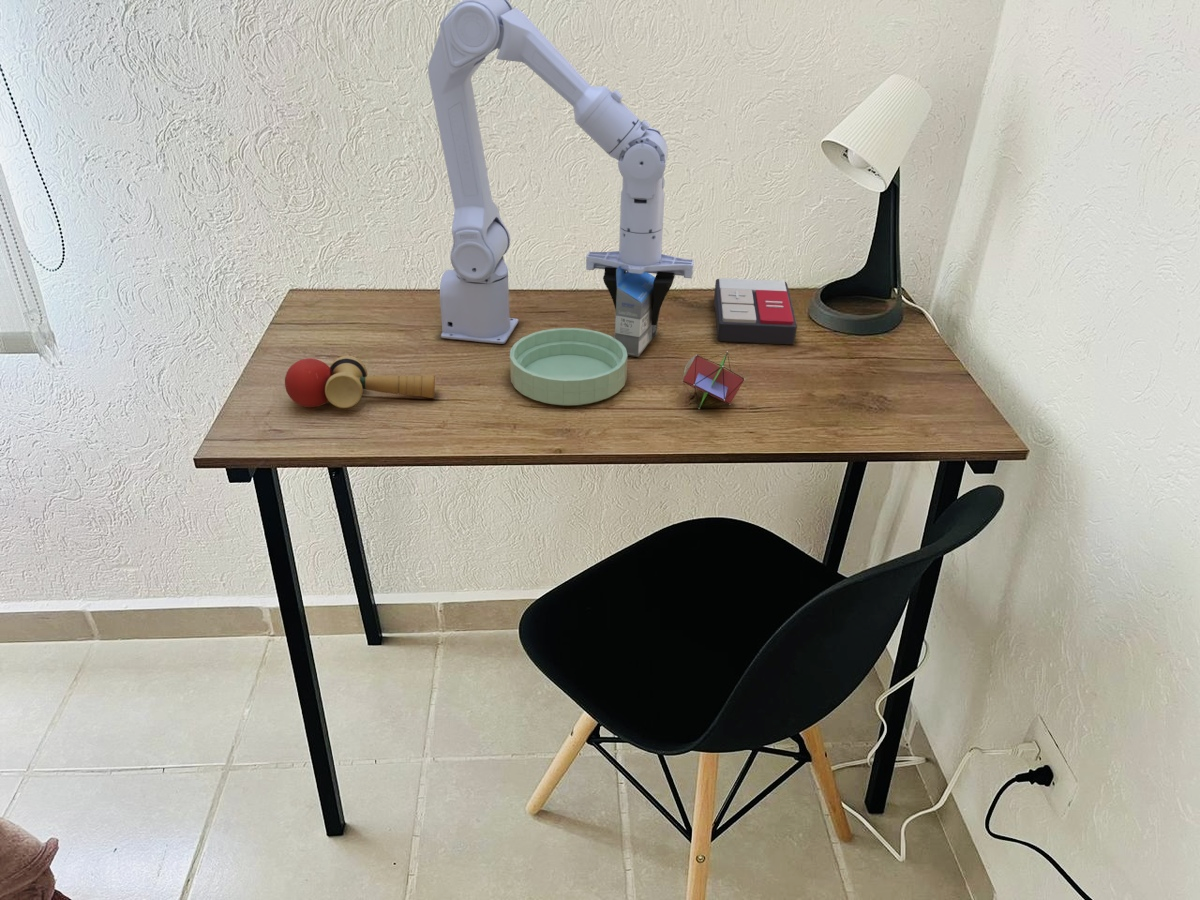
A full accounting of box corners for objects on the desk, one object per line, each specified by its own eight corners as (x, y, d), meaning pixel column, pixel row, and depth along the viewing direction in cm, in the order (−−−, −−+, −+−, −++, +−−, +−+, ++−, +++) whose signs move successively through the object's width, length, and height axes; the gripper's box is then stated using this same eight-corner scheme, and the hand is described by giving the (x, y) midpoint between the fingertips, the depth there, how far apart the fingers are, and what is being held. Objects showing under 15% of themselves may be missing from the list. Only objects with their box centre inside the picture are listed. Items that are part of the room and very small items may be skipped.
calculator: (719, 318, 129) (716, 273, 141) (717, 345, 132) (713, 299, 144) (798, 322, 129) (787, 276, 141) (793, 348, 131) (783, 302, 143)
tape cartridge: (639, 358, 126) (643, 274, 120) (612, 353, 127) (615, 269, 121) (658, 333, 133) (663, 252, 127) (632, 329, 134) (636, 248, 128)
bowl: (497, 401, 115) (495, 373, 113) (527, 349, 128) (526, 323, 126) (615, 414, 113) (616, 386, 111) (634, 360, 126) (635, 333, 124)
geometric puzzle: (757, 380, 117) (724, 330, 114) (751, 406, 111) (716, 353, 109) (710, 404, 120) (677, 355, 118) (702, 429, 115) (667, 379, 112)
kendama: (432, 388, 121) (289, 380, 117) (435, 349, 117) (287, 339, 112) (433, 426, 115) (282, 419, 111) (436, 387, 111) (280, 378, 107)
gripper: (581, 232, 119) (581, 327, 126) (692, 240, 117) (685, 337, 124) (592, 215, 125) (591, 307, 132) (698, 223, 123) (691, 316, 130)
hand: (637, 320), depth 129 cm, fingers closed on tape cartridge, 4 cm apart
